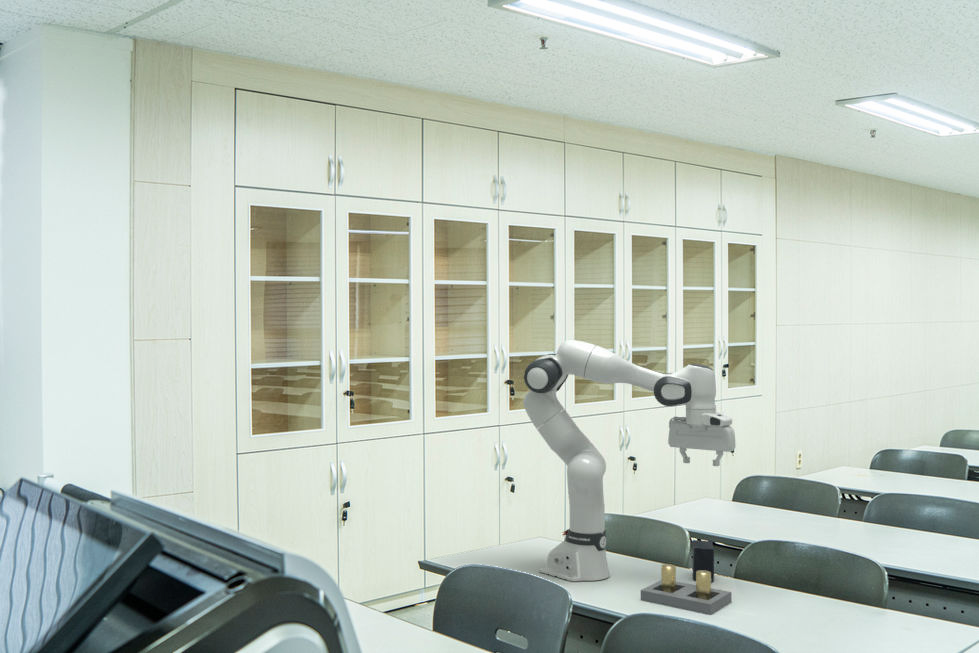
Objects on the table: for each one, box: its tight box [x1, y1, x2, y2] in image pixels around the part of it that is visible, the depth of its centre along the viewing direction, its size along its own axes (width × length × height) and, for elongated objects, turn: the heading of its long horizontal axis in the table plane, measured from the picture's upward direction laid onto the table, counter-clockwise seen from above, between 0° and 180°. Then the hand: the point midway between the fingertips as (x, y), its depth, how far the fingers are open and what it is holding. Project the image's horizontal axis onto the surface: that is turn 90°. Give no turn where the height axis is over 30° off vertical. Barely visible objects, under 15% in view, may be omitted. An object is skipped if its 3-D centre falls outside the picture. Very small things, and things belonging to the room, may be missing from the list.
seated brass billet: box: [661, 563, 677, 593], centre depth 246 cm, size 4×4×9 cm
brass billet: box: [695, 570, 712, 600], centre depth 240 cm, size 4×4×9 cm
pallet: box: [640, 579, 732, 616], centre depth 243 cm, size 21×14×4 cm, turn 52°
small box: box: [692, 539, 715, 583], centre depth 269 cm, size 11×6×10 cm, turn 168°
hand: (701, 464), depth 257 cm, fingers open, 8 cm apart
